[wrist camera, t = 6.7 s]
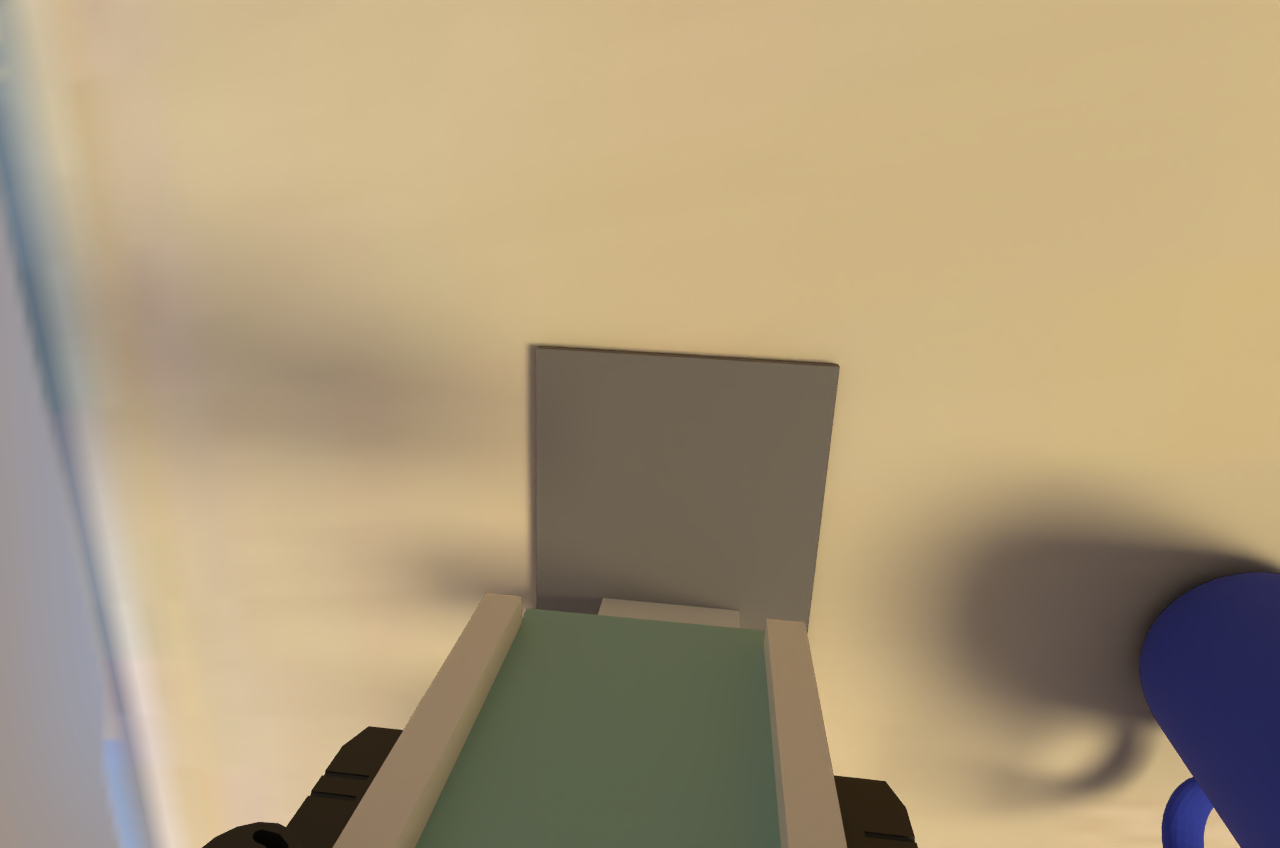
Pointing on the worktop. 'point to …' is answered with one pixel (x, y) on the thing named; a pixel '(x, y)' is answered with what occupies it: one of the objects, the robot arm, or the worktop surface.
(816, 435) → the mat
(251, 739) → the worktop surface
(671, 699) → the green domino
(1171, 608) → the mug
